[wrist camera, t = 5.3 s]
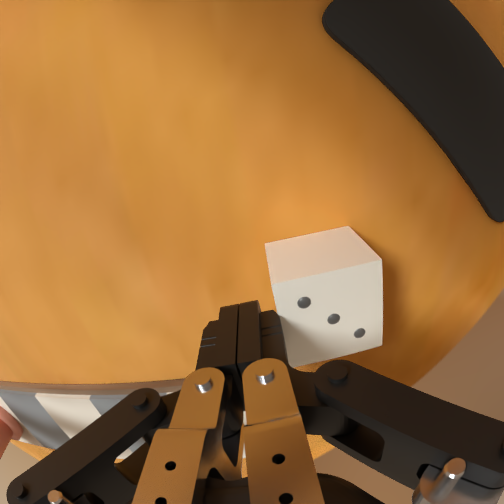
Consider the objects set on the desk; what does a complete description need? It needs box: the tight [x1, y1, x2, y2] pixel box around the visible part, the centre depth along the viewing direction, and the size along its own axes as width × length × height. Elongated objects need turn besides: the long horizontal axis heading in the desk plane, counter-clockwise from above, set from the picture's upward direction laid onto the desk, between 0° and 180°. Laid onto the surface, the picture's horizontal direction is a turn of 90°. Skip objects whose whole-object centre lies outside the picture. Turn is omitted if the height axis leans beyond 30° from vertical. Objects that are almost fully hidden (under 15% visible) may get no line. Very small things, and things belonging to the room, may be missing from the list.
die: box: [265, 226, 383, 368], centre depth 13 cm, size 4×4×4 cm
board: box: [0, 379, 247, 459], centre depth 19 cm, size 9×31×1 cm, turn 103°
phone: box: [322, 0, 504, 222], centre depth 11 cm, size 7×1×15 cm
